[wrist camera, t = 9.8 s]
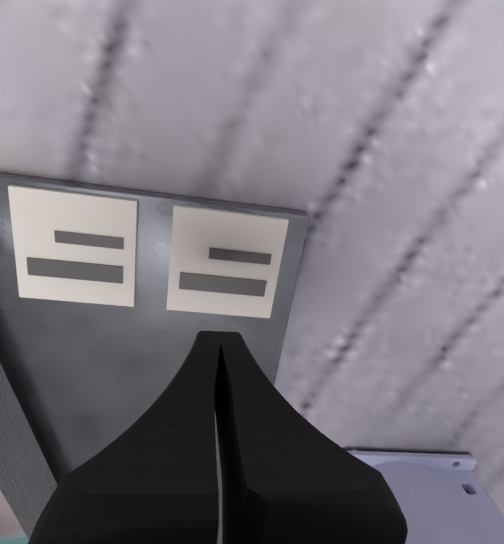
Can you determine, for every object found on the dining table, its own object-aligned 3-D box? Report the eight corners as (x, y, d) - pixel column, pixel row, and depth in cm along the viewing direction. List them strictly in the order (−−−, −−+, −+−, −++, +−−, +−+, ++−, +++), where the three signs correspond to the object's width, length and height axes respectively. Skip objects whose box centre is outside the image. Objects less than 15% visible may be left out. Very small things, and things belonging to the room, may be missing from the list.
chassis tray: (305, 211, 18) (310, 216, 17) (238, 535, 27) (238, 550, 26) (-95, 160, 16) (-114, 163, 15) (-19, 534, 25) (-28, 551, 24)
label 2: (287, 218, 17) (289, 220, 17) (269, 315, 19) (270, 319, 18) (174, 204, 16) (173, 206, 16) (167, 306, 18) (166, 310, 18)
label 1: (138, 200, 16) (136, 202, 16) (135, 303, 18) (133, 307, 18) (11, 184, 15) (6, 186, 15) (22, 293, 17) (18, 298, 17)
